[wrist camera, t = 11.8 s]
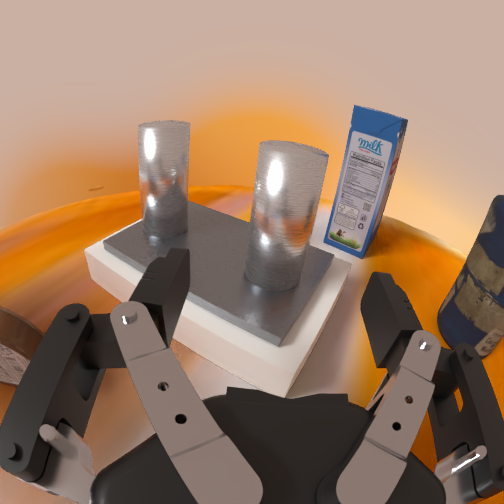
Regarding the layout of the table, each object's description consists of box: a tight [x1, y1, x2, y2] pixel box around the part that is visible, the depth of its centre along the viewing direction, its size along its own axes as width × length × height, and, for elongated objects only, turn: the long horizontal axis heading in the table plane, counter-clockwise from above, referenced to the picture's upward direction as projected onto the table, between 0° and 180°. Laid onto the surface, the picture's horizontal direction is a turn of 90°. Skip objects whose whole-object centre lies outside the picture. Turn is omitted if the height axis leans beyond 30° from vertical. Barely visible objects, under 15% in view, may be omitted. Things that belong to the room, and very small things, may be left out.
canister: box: [437, 195, 504, 359], centre depth 22 cm, size 10×10×18 cm
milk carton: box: [324, 105, 408, 259], centre depth 38 cm, size 10×6×20 cm, turn 146°
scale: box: [84, 219, 352, 398], centre depth 30 cm, size 24×17×4 cm
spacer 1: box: [138, 121, 190, 237], centre depth 27 cm, size 5×5×11 cm
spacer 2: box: [244, 141, 329, 291], centre depth 23 cm, size 5×5×11 cm
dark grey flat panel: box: [103, 201, 334, 347], centre depth 28 cm, size 20×13×1 cm, turn 60°
